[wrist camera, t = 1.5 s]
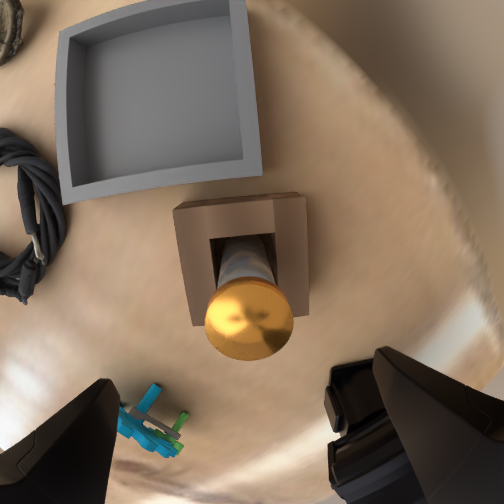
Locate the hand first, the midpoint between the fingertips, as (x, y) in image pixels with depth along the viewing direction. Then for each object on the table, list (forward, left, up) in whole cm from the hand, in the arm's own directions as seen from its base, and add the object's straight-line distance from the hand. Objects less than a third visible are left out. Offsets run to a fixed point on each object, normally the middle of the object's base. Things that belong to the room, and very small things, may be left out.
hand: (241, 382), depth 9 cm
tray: (+5, -12, -13) cm, 18 cm away
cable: (+22, -7, -14) cm, 27 cm away
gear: (+11, +15, -14) cm, 23 cm away
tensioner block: (0, 0, -13) cm, 13 cm away
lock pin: (0, 0, -13) cm, 13 cm away
